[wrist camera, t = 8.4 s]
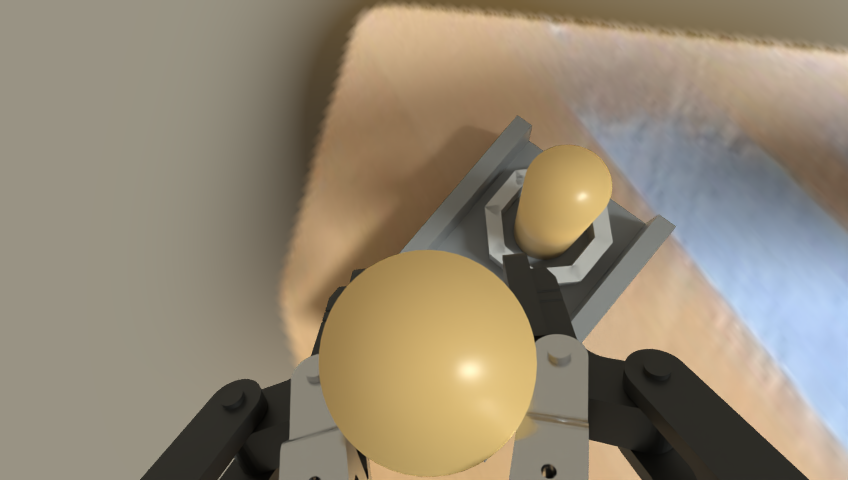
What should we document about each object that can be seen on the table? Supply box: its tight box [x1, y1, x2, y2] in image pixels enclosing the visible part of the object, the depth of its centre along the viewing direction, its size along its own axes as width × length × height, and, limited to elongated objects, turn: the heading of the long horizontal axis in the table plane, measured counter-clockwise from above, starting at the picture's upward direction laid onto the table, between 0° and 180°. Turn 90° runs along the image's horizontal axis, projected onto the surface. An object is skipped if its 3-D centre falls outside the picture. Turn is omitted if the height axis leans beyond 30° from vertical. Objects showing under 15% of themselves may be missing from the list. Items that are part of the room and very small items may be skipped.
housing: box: [399, 115, 676, 462], centre depth 27 cm, size 18×12×12 cm, turn 139°
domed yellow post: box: [319, 250, 537, 477], centre depth 13 cm, size 4×4×10 cm
